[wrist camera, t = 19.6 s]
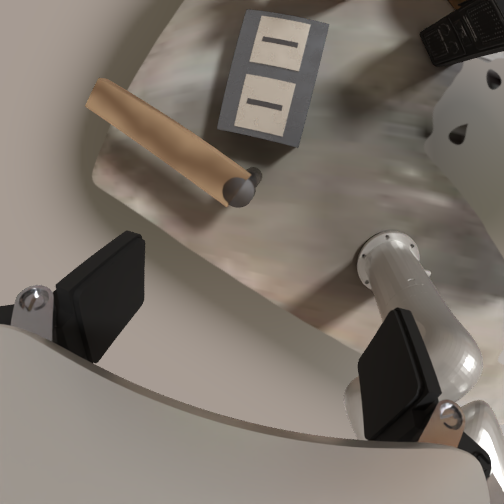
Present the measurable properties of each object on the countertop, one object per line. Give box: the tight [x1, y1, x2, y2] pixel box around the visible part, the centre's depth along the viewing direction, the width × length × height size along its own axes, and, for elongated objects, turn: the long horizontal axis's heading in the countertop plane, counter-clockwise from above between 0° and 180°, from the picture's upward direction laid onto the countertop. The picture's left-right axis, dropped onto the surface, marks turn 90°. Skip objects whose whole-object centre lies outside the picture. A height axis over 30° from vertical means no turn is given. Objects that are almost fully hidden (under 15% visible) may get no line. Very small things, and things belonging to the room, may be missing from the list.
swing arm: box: [85, 78, 255, 207], centre depth 34 cm, size 5×30×2 cm, turn 54°
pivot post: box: [246, 167, 262, 188], centre depth 42 cm, size 3×3×10 cm
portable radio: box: [420, 0, 504, 66], centre depth 18 cm, size 8×6×25 cm
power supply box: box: [217, 9, 329, 148], centre depth 35 cm, size 12×20×6 cm, turn 168°
